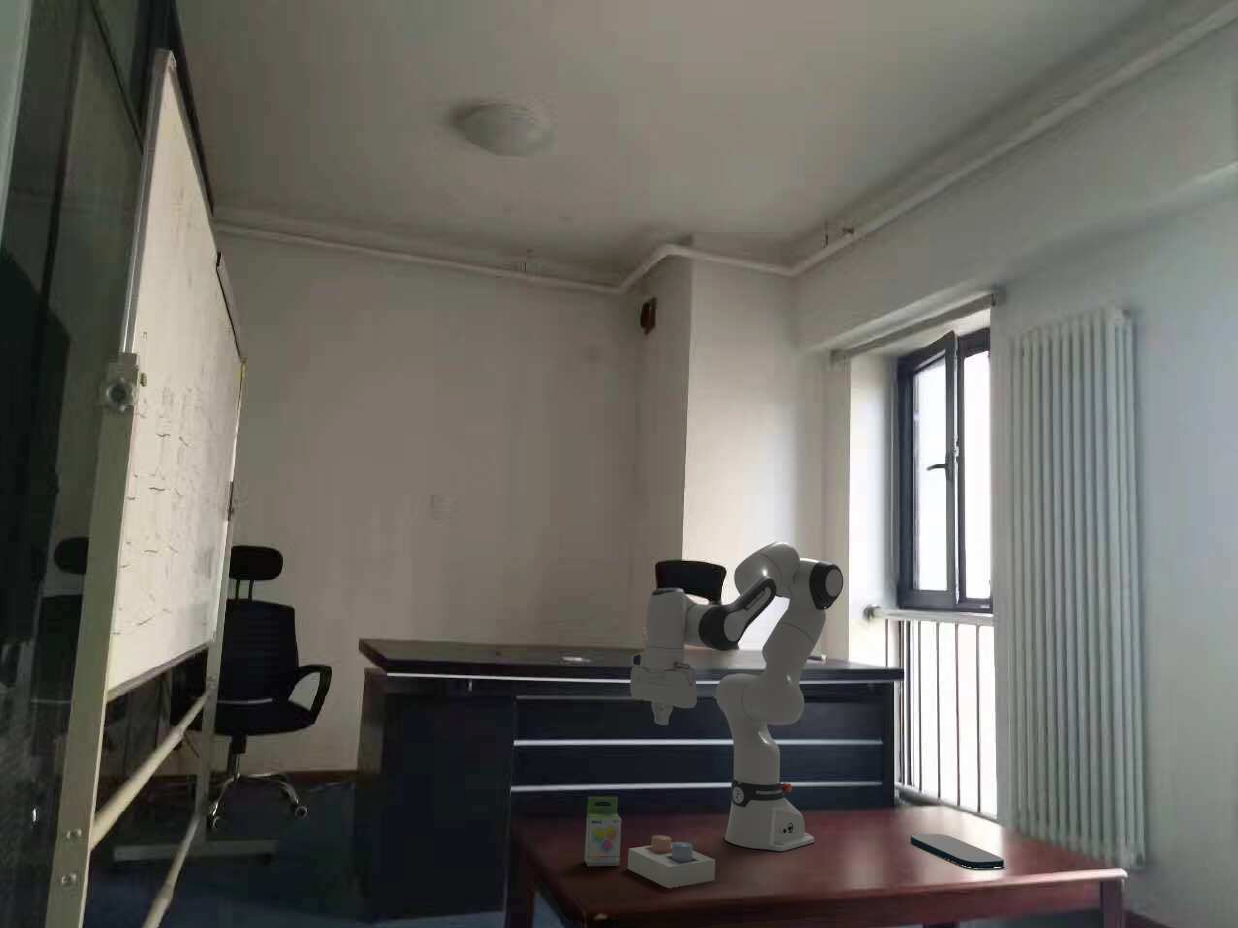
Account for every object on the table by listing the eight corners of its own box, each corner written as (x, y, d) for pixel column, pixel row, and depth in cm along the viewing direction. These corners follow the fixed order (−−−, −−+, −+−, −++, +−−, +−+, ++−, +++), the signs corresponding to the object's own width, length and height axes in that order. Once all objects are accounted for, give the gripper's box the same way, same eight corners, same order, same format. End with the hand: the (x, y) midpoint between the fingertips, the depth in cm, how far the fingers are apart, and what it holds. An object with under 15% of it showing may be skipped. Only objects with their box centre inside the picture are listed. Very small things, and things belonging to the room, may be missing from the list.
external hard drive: (905, 842, 221) (905, 834, 221) (944, 841, 224) (944, 833, 225) (968, 871, 199) (967, 862, 199) (1010, 870, 202) (1010, 860, 202)
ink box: (587, 867, 186) (591, 800, 188) (583, 861, 189) (587, 796, 191) (619, 866, 187) (622, 800, 189) (615, 861, 191) (618, 796, 193)
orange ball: (662, 853, 190) (663, 834, 190) (674, 859, 186) (675, 839, 187) (646, 856, 187) (647, 836, 188) (658, 861, 184) (659, 841, 184)
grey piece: (683, 861, 184) (683, 840, 185) (696, 866, 181) (696, 846, 181) (667, 863, 182) (668, 843, 182) (679, 869, 178) (680, 848, 179)
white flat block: (672, 861, 193) (673, 842, 193) (714, 880, 181) (715, 859, 182) (627, 868, 186) (628, 848, 187) (668, 888, 174) (669, 866, 175)
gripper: (705, 664, 191) (702, 730, 189) (648, 656, 208) (645, 717, 206) (682, 664, 187) (679, 731, 185) (626, 656, 204) (623, 718, 202)
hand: (661, 724), depth 196 cm, fingers closed
